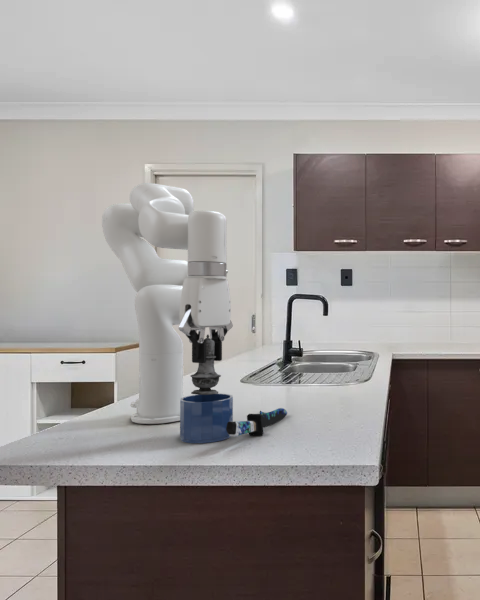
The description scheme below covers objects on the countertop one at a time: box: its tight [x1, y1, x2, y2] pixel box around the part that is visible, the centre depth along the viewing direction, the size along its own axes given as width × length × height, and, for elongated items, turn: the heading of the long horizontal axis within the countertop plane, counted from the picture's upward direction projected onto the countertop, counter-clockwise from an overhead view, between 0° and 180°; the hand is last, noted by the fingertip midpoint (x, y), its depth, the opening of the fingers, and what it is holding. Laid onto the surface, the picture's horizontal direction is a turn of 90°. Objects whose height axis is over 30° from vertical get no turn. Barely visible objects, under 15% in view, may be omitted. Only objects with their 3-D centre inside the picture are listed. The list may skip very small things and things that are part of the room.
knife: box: [226, 407, 288, 437], centre depth 110 cm, size 30×3×4 cm, turn 169°
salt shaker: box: [190, 334, 222, 395], centre depth 106 cm, size 6×6×12 cm
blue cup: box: [179, 392, 234, 444], centre depth 106 cm, size 10×10×8 cm
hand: (207, 360), depth 106 cm, fingers closed on salt shaker, 3 cm apart
